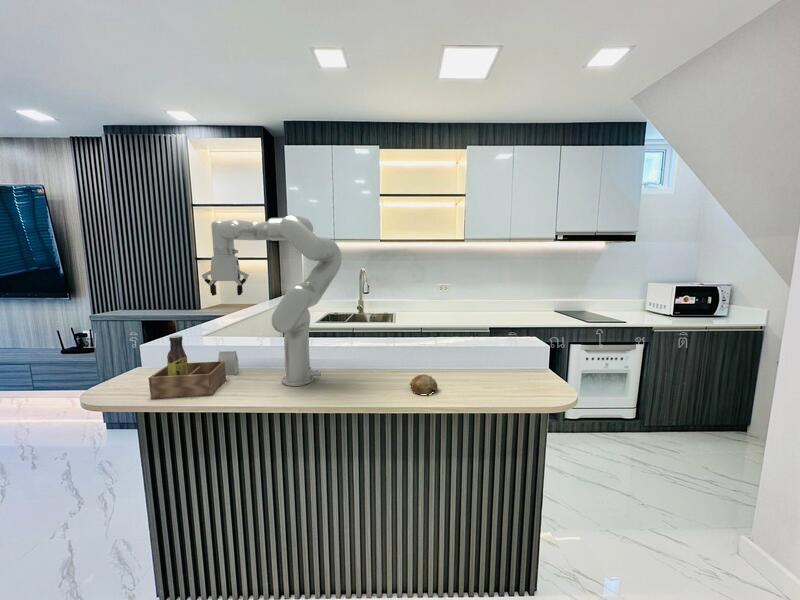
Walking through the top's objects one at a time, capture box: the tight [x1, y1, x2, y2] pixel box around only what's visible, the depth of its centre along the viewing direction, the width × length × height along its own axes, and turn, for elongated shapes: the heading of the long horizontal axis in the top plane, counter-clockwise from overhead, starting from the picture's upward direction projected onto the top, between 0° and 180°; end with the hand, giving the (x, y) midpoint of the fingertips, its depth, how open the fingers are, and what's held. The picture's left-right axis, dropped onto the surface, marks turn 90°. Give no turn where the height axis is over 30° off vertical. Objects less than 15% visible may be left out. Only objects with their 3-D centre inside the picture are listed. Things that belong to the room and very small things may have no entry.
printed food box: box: [217, 350, 240, 376], centre depth 142 cm, size 4×7×10 cm, turn 95°
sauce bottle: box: [166, 334, 188, 376], centre depth 125 cm, size 7×6×20 cm
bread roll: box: [409, 374, 438, 395], centre depth 127 cm, size 10×10×8 cm
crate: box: [148, 360, 227, 400], centre depth 126 cm, size 20×15×8 cm
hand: (227, 295), depth 136 cm, fingers open, 9 cm apart
